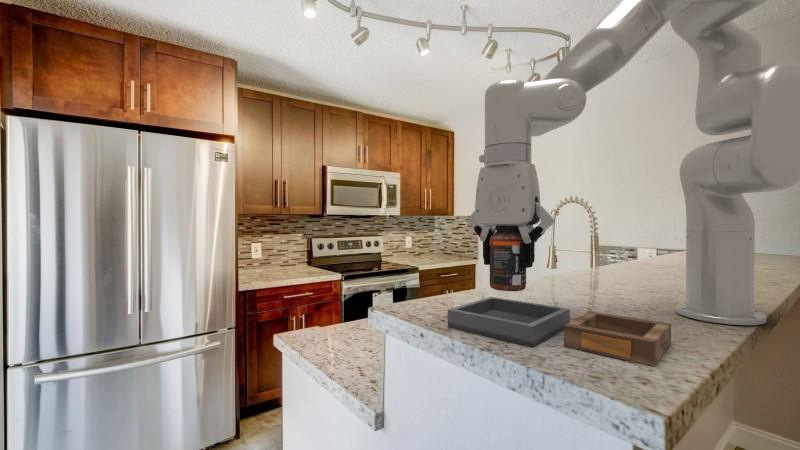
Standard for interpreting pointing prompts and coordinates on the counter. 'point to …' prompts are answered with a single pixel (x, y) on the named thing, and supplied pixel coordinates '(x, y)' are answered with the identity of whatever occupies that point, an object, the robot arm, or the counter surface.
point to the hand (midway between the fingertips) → (507, 264)
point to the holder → (619, 337)
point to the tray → (509, 320)
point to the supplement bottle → (506, 260)
